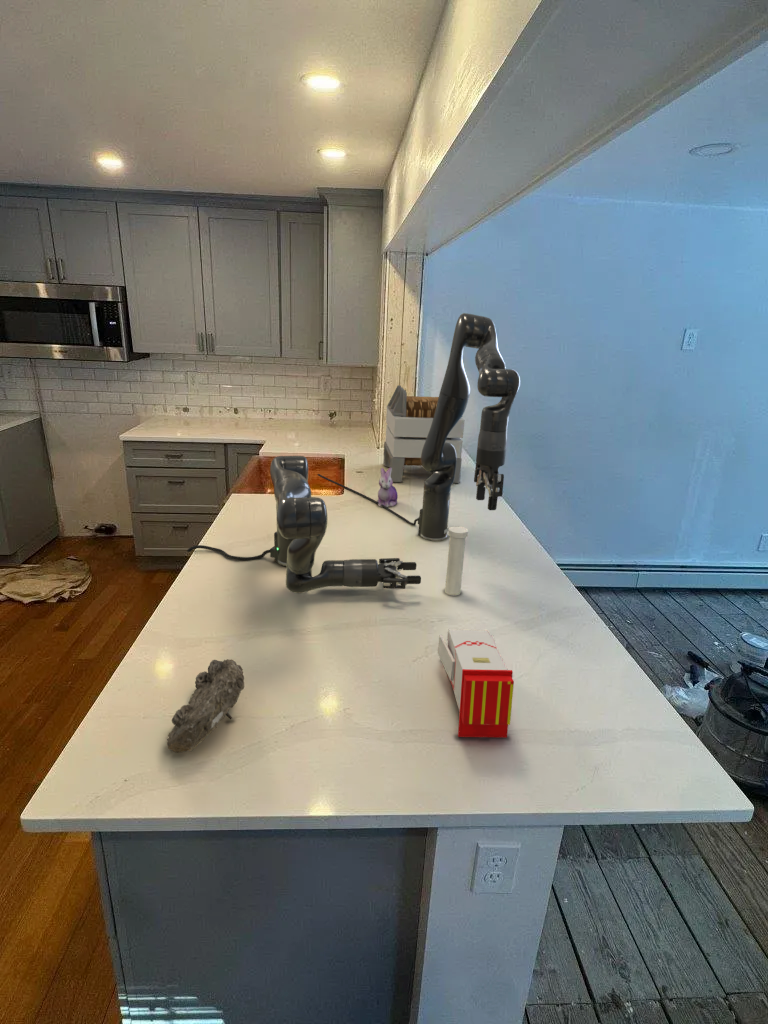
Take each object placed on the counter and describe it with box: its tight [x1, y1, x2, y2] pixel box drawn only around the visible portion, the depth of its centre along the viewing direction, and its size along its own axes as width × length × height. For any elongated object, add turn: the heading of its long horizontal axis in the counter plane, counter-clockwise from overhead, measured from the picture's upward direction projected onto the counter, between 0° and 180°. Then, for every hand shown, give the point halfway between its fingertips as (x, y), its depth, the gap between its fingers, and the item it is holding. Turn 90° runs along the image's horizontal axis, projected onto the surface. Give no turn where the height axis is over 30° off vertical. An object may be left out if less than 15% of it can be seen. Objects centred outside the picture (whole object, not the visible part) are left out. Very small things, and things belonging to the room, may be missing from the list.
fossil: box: [166, 658, 245, 754], centre depth 106 cm, size 22×10×15 cm
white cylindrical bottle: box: [444, 536, 467, 597], centre depth 157 cm, size 4×4×19 cm
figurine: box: [377, 467, 399, 508], centre depth 227 cm, size 9×10×15 cm
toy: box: [437, 628, 515, 738], centre depth 117 cm, size 12×13×30 cm
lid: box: [448, 525, 469, 539], centre depth 154 cm, size 5×5×2 cm
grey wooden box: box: [383, 384, 465, 484], centre depth 268 cm, size 34×33×41 cm
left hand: (418, 572), depth 157 cm, fingers open, 8 cm apart
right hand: (485, 504), depth 155 cm, fingers open, 8 cm apart
